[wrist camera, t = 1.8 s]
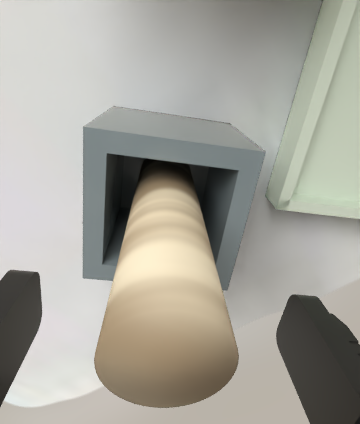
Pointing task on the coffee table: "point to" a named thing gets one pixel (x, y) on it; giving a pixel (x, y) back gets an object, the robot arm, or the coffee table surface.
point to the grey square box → (167, 151)
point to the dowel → (166, 300)
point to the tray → (324, 122)
